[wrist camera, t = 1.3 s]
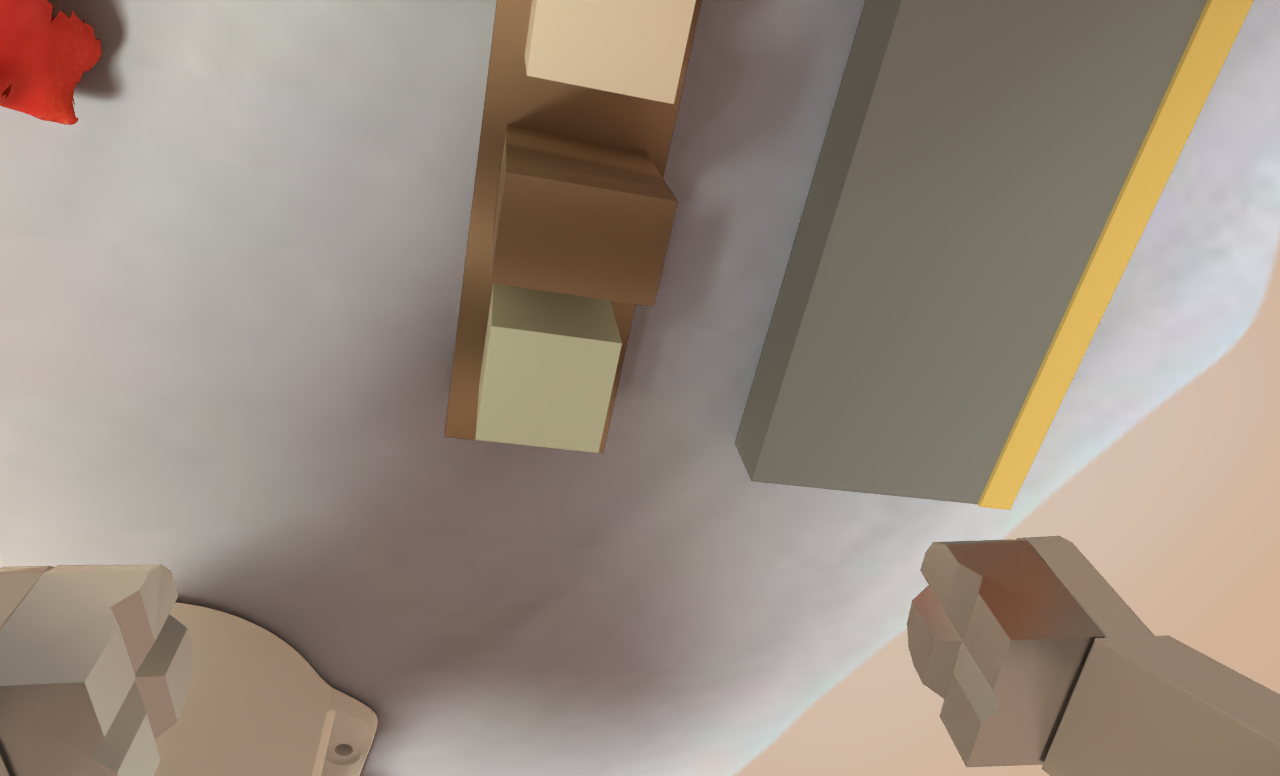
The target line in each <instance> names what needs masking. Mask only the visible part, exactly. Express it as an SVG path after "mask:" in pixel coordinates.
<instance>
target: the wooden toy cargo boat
mask: <svg viewBox="0 0 1280 776" xmlns="http://www.w3.org/2000/svg"><path fill="white" fill-rule="evenodd" d="M701 1H702V0H696V2H695V7H694V11H693V16H692V21H691V25H690V30H689V35H688V39H687V44H686V49H685V54H684V58H683V63H682V68H681V72H680V77H679V82H678V86H677V91H676V96H675V101H674V104H670V103H665V102H660V101H654V100H649V99H644V98H639V97H634V96H629V95H624V94H619V93H613V92H608V91H603V90H598V89H593V88H588V87H583V86H578V85H572V84H567V83H562V82H557V81H552V80H547V79H542V78H537V77H531V76H527V73H526V66H525V58H524V56H525V49H526V41H527V34H528V27H529V19H530V12H531V4H532V0H497V3H496V11H495V20H494V28H493V36H492V45H491V53H490V61H489V70H488V78H487V86H486V94H485V103H484V111H483V119H482V128H481V136H480V144H479V152H478V161H477V169H476V177H475V186H474V194H473V202H472V210H471V219H470V227H469V235H468V244H467V252H466V260H465V269H464V277H463V285H462V293H461V302H460V310H459V318H458V327H457V335H456V343H455V351H454V360H453V368H452V376H451V385H450V393H449V401H448V410H447V418H446V426H445V434H444V437H452V438H461V439H471V440H475V439H476V424H477V409H478V395H479V381H480V374H481V367H482V359H483V352H484V345H485V338H486V330H487V323H488V316H489V309H490V301H491V294H492V287H493V284H500V285H507V286H514V287H521V288H528V289H535V290H541V291H548V292H555V293H562V294H569V295H576V296H583V297H590V298H597V299H604V300H610V302H611V305H612V309H613V313H614V316H615V320H616V323H617V327H618V331H619V334H620V338H621V342H622V346H621V351H620V355H619V360H618V364H617V369H616V374H615V378H614V383H613V388H612V392H611V397H610V402H609V406H608V411H607V415H606V420H605V425H604V429H603V434H602V439H601V443H600V448H599V453H603V452H604V447H605V443H606V438H607V433H608V429H609V424H610V420H611V415H612V410H613V406H614V401H615V397H616V392H617V387H618V383H619V378H620V374H621V369H622V364H623V360H624V355H625V351H626V346H627V341H628V337H629V332H630V328H631V323H632V318H633V314H634V309H635V305H636V304H639V305H646V306H653V307H654V303H655V299H656V295H657V290H658V286H659V282H660V277H661V273H662V268H663V264H664V260H665V255H666V251H667V246H668V242H669V238H670V233H671V229H672V224H673V220H674V216H675V211H676V207H677V202H678V201H677V200H676V198H675V197H674V195H673V193H672V192H671V190H670V189H669V187H668V186H667V184H666V183H665V181H664V179H663V176H664V171H665V167H666V162H667V157H668V153H669V148H670V144H671V139H672V134H673V130H674V125H675V121H676V116H677V111H678V107H679V102H680V98H681V93H682V88H683V84H684V79H685V75H686V70H687V65H688V61H689V56H690V52H691V47H692V42H693V38H694V33H695V29H696V24H697V19H698V15H699V10H700V6H701Z"/></svg>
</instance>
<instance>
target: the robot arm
mask: <svg viewBox="0 0 1280 776" xmlns="http://www.w3.org/2000/svg"><path fill="white" fill-rule="evenodd" d="M920 571H921V572H922V574H923V576H924V577H925V579H926V581H927V582H928V584H929V585H928V586H927V587H926V588H925V589H924V590H923V591H922V592H921V593H920V594H919V595H918V596H917V597H916V598H914V599H913V600H912V604H911V608H910V613H909V617H908V622H907V629H908V646H909V650H910V653H911V657H912V661H913V664H914V667H915V669H916V671H917V673H918V675H919V677H920V679H921V681H922V683H923V684H924V685H926V686H927V687H928V688H930V689H931V690H933V691H934V692H935V693H937V694H938V695H940V696H941V697H942V698H944V702H943V706H942V709H941V713H940V718H941V720H942V721H943V723H944V725H945V727H946V729H947V731H948V733H949V735H950V737H951V739H952V740H953V742H954V744H955V746H956V748H957V750H958V752H959V754H960V756H961V758H962V760H963V761H964V763H965V765H966V767H984V766H1012V765H1040V764H1041V765H1042V764H1043V766H1042V769H1043V770H1044V771H1045V772H1047V773H1048V774H1049V775H1050V776H1280V694H1278V693H1276V692H1274V691H1272V690H1270V689H1269V688H1267V687H1265V686H1263V685H1261V684H1259V683H1257V682H1255V681H1253V680H1251V679H1250V678H1248V677H1246V676H1244V675H1242V674H1240V673H1238V672H1236V671H1234V670H1232V669H1231V668H1229V667H1227V666H1225V665H1223V664H1221V663H1219V662H1217V661H1216V660H1214V659H1212V658H1210V657H1208V656H1206V655H1204V654H1202V653H1200V652H1198V651H1197V650H1195V649H1193V648H1191V647H1189V646H1187V645H1185V644H1183V643H1181V642H1179V641H1178V640H1176V639H1174V638H1172V637H1170V636H1155V635H1154V634H1153V633H1152V632H1151V631H1150V630H1149V629H1148V628H1147V626H1146V625H1145V624H1144V623H1143V622H1142V621H1141V620H1140V619H1139V617H1138V616H1137V615H1136V614H1135V613H1134V612H1133V611H1132V610H1131V608H1130V607H1129V606H1128V605H1127V604H1126V603H1125V602H1124V601H1123V599H1122V598H1121V597H1120V596H1119V595H1118V594H1117V593H1116V592H1115V590H1114V589H1113V588H1112V587H1111V586H1110V585H1109V584H1108V582H1107V581H1106V580H1105V579H1104V578H1103V577H1102V576H1101V574H1100V573H1099V572H1098V571H1097V570H1096V569H1095V568H1094V567H1093V565H1092V564H1091V563H1090V562H1089V561H1088V560H1087V559H1086V558H1085V556H1084V555H1083V554H1082V553H1081V552H1080V551H1079V550H1078V549H1077V548H1076V546H1075V545H1074V544H1073V543H1072V542H1070V541H1069V540H1067V539H1065V538H1063V537H1061V536H1049V537H1030V538H1017V539H1016V540H984V541H956V542H933V543H932V545H931V546H930V547H929V549H928V550H927V551H926V553H925V556H924V559H923V563H922V566H921V570H920ZM178 596H179V594H178V591H177V588H176V585H175V582H174V578H173V575H172V572H171V570H170V569H168V568H166V567H164V566H162V565H58V566H56V567H52V566H27V567H2V568H0V776H360V773H361V770H362V768H363V765H364V763H365V760H366V758H367V755H368V753H369V750H370V747H371V745H372V742H373V739H374V736H375V733H376V729H377V726H378V718H377V716H376V714H375V713H374V711H372V710H371V709H370V708H369V707H367V706H366V705H365V704H363V703H361V702H359V701H358V700H356V699H354V698H352V697H350V696H348V695H346V694H344V693H342V692H340V691H338V690H336V689H334V688H332V687H331V686H330V685H328V684H327V683H326V682H325V681H324V680H323V679H322V678H321V677H320V676H319V675H318V674H317V673H316V671H315V670H314V669H313V668H312V667H311V666H310V665H309V663H308V662H307V661H306V660H305V659H304V658H303V657H302V656H301V655H300V654H299V653H298V652H297V651H296V650H294V649H293V648H292V647H291V646H290V645H288V644H287V643H286V642H284V641H283V640H282V639H280V638H278V637H277V636H275V635H274V634H272V633H271V632H269V631H267V630H265V629H263V628H262V627H260V626H258V625H255V624H253V623H251V622H249V621H247V620H244V619H242V618H239V617H237V616H234V615H231V614H228V613H225V612H221V611H218V610H214V609H210V608H206V607H201V606H196V605H191V604H183V603H175V602H176V600H177V598H178Z"/></svg>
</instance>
